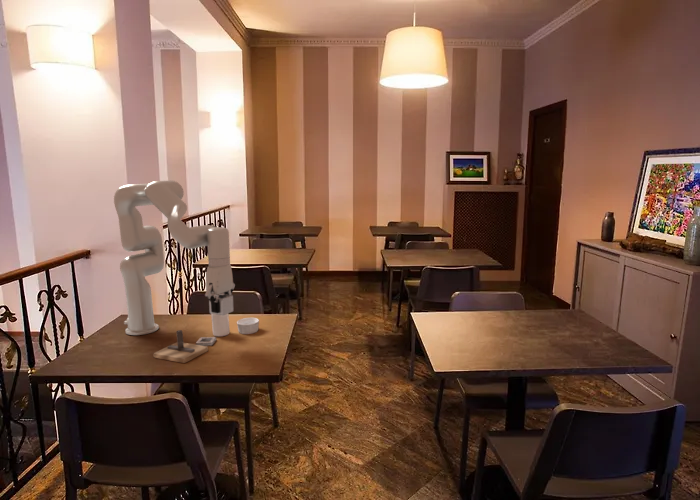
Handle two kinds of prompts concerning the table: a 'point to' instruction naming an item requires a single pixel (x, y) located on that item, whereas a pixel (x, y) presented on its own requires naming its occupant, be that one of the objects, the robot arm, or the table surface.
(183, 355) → the base
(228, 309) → the link
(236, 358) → the table surface
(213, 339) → the link
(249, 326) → the ramekin
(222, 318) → the can
